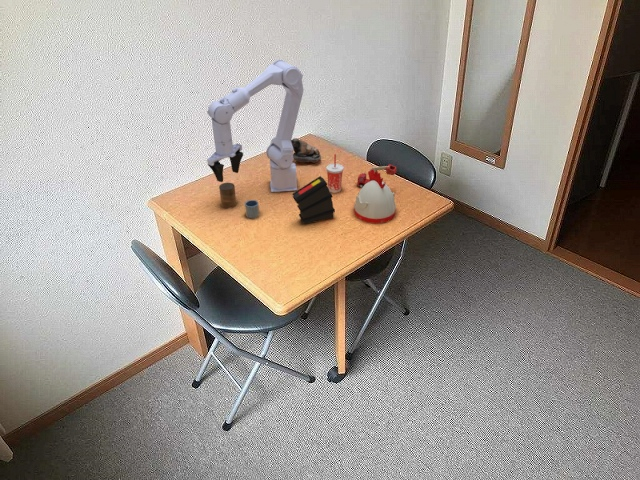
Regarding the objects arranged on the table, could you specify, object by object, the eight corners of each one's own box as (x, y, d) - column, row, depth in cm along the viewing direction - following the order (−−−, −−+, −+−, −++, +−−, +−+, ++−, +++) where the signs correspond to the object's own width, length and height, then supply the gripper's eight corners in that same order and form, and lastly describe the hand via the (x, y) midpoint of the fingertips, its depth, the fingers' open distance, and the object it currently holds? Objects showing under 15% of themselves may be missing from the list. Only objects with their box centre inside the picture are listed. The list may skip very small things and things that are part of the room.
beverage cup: (334, 195, 174) (334, 160, 166) (322, 189, 177) (322, 154, 169) (346, 190, 177) (347, 154, 169) (335, 183, 181) (335, 149, 173)
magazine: (343, 212, 161) (325, 180, 151) (309, 234, 161) (289, 202, 151) (339, 207, 164) (321, 174, 154) (306, 228, 164) (286, 196, 154)
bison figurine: (320, 157, 198) (320, 134, 192) (321, 165, 193) (321, 141, 187) (291, 158, 198) (290, 135, 192) (291, 166, 192) (290, 142, 186)
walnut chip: (235, 188, 169) (234, 182, 167) (235, 195, 164) (234, 189, 163) (220, 189, 168) (219, 183, 167) (219, 196, 164) (218, 190, 162)
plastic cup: (259, 210, 165) (258, 199, 163) (259, 217, 162) (258, 206, 159) (246, 211, 165) (244, 200, 162) (246, 218, 161) (245, 207, 159)
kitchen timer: (378, 197, 172) (381, 159, 164) (403, 215, 163) (408, 175, 154) (346, 208, 166) (347, 169, 158) (370, 227, 157) (373, 186, 148)
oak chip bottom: (236, 200, 171) (235, 194, 170) (236, 207, 167) (235, 201, 166) (221, 201, 171) (220, 195, 169) (221, 208, 167) (220, 202, 165)
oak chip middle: (231, 193, 171) (230, 187, 169) (238, 199, 167) (237, 193, 166) (217, 197, 168) (217, 191, 167) (225, 203, 165) (224, 197, 163)
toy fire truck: (358, 182, 181) (360, 159, 176) (394, 189, 177) (397, 165, 172) (356, 186, 179) (357, 162, 173) (392, 193, 175) (394, 169, 169)
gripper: (216, 150, 150) (221, 188, 158) (247, 134, 160) (250, 171, 168) (200, 144, 154) (206, 182, 162) (231, 129, 163) (235, 166, 171)
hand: (228, 176), depth 165 cm, fingers open, 7 cm apart
